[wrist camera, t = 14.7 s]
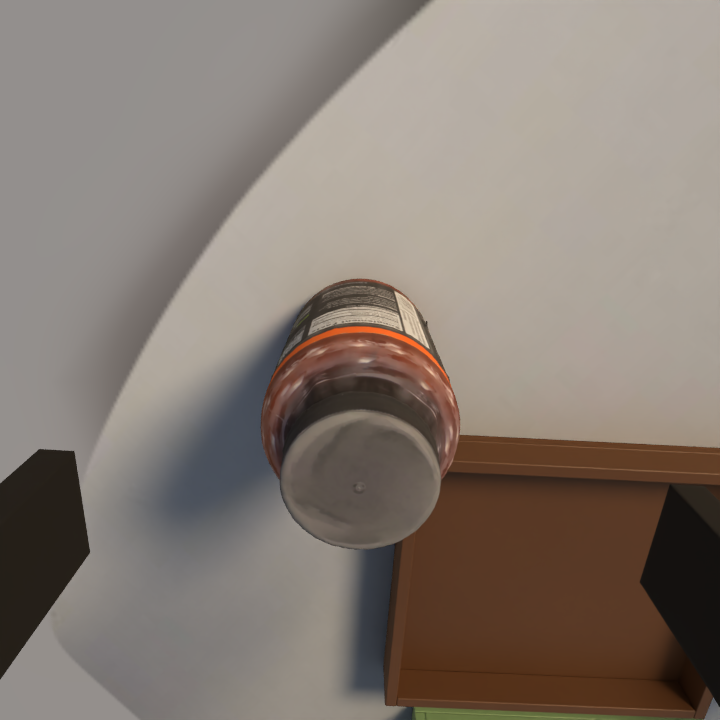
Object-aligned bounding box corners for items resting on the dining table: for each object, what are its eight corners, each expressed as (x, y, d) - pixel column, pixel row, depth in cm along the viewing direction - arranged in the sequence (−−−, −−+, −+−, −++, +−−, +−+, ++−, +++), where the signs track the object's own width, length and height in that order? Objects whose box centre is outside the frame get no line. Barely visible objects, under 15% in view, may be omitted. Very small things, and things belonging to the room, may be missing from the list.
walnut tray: (383, 666, 30) (384, 706, 28) (406, 431, 25) (410, 458, 23) (679, 678, 31) (704, 719, 28) (764, 449, 25) (803, 478, 23)
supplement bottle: (411, 411, 25) (448, 602, 14) (284, 390, 24) (224, 568, 14) (442, 288, 23) (512, 401, 12) (303, 262, 22) (249, 355, 12)
